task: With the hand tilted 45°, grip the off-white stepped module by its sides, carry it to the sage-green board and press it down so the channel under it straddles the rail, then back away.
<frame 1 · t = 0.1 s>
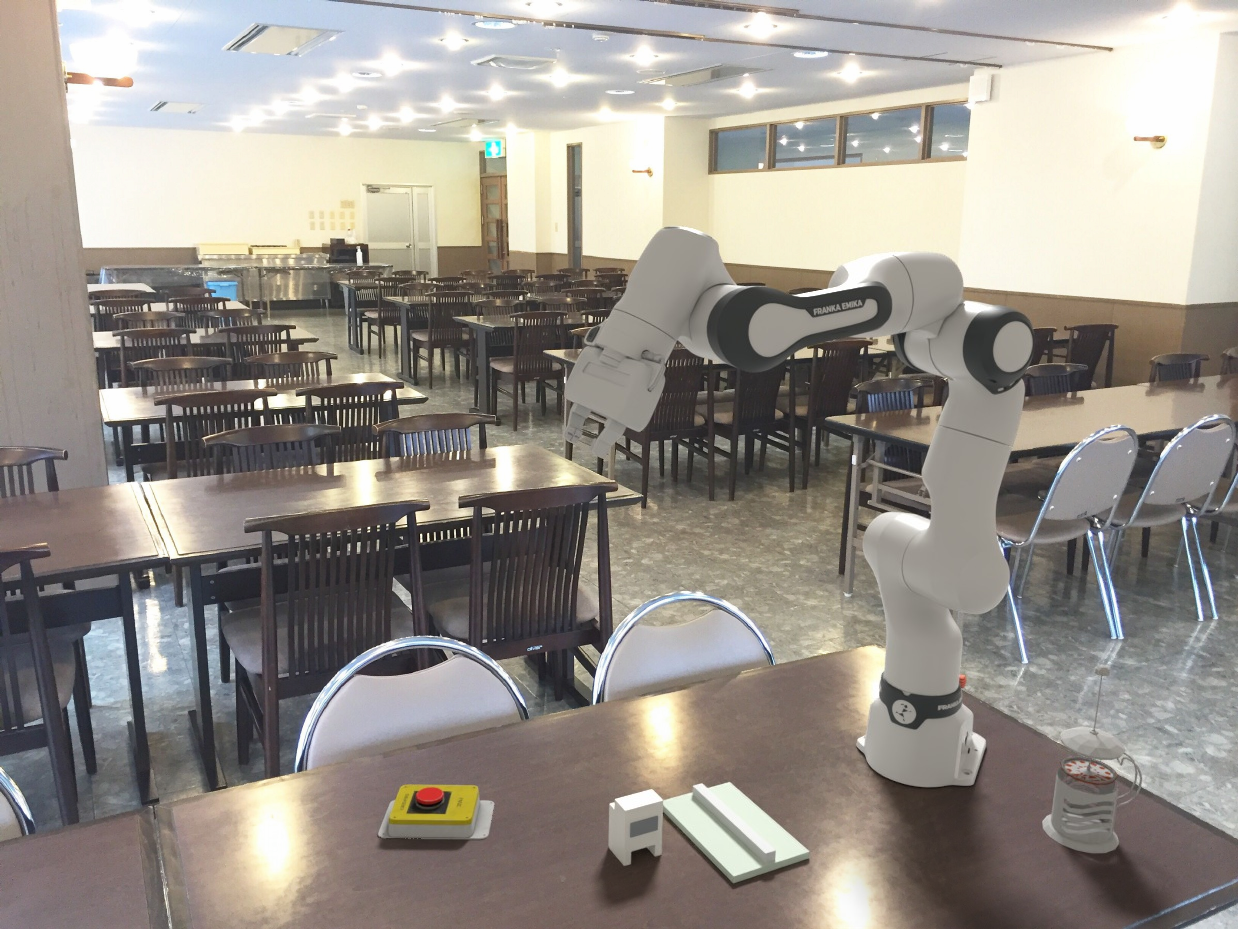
hand: (582, 447, 122), 54 cm above the table, tool tilted 30°, fingers open, 8 cm apart
french press: (1086, 834, 138), on the table
emergency button: (438, 823, 138), on the table
rail board: (731, 832, 136), on the table
module: (634, 851, 131), on the table
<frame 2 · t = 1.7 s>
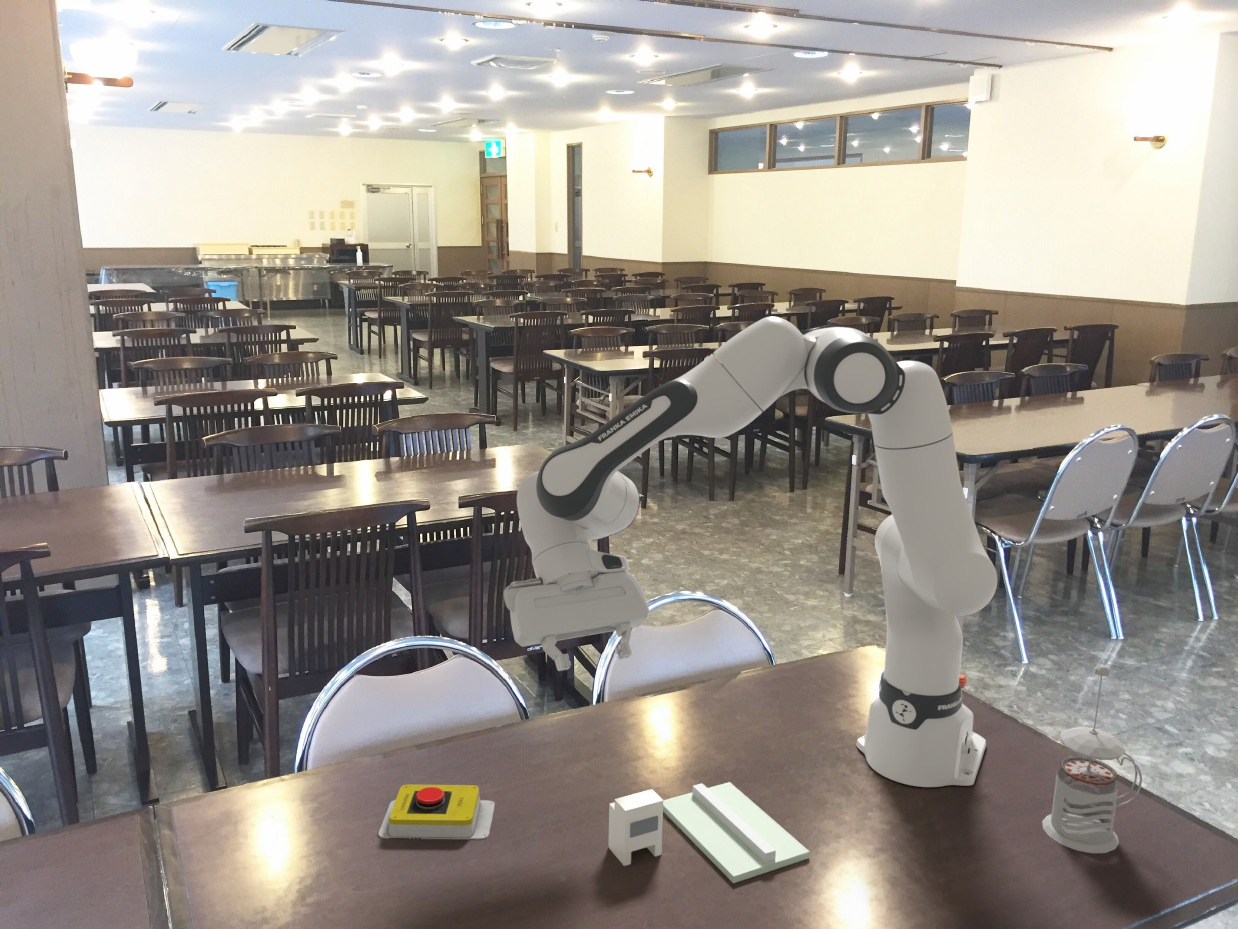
hand: (595, 663, 137), 22 cm above the table, tool tilted 45°, fingers open, 8 cm apart
nothing on the table moved.
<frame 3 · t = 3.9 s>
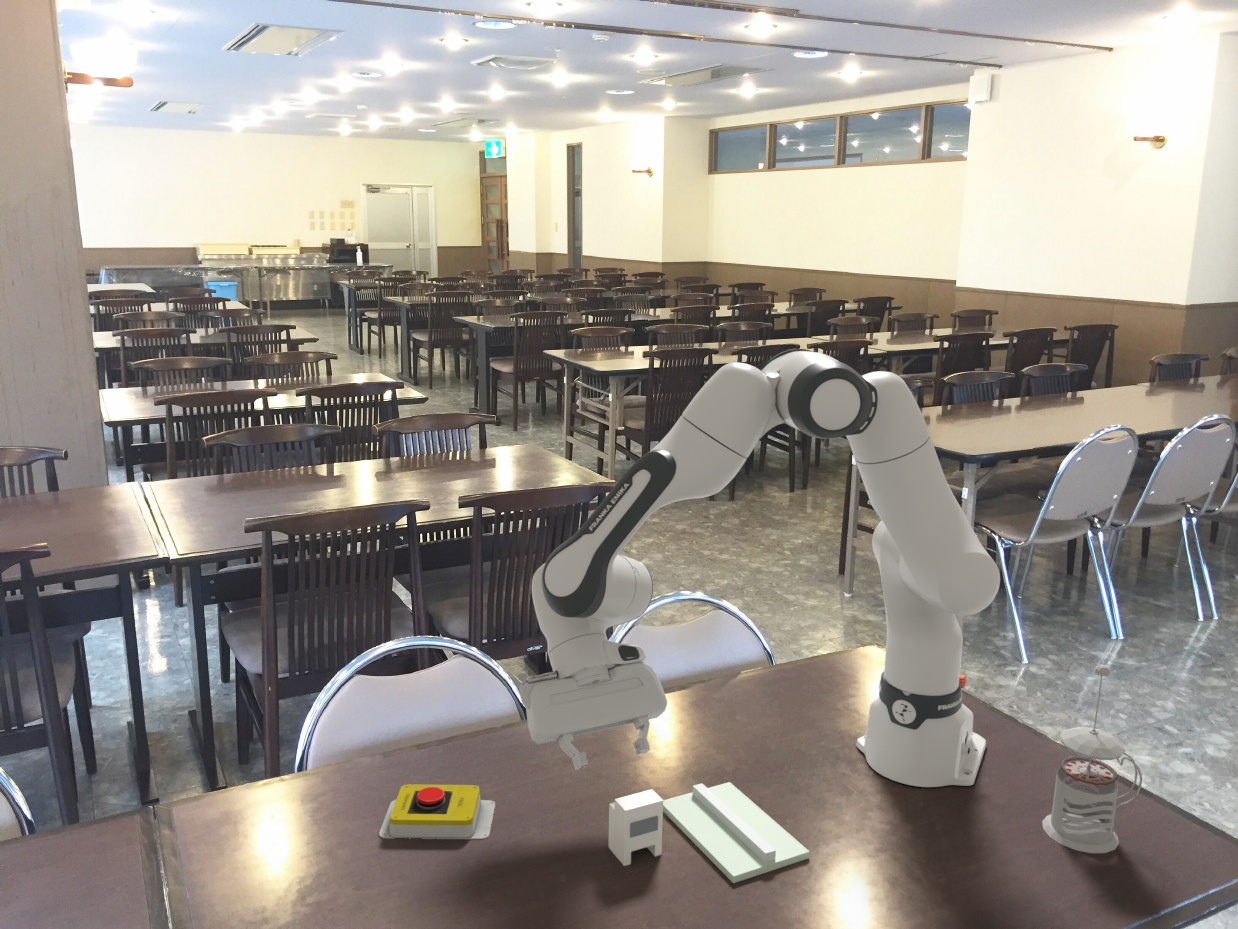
hand: (613, 760, 135), 10 cm above the table, tool tilted 45°, fingers open, 8 cm apart
nothing on the table moved.
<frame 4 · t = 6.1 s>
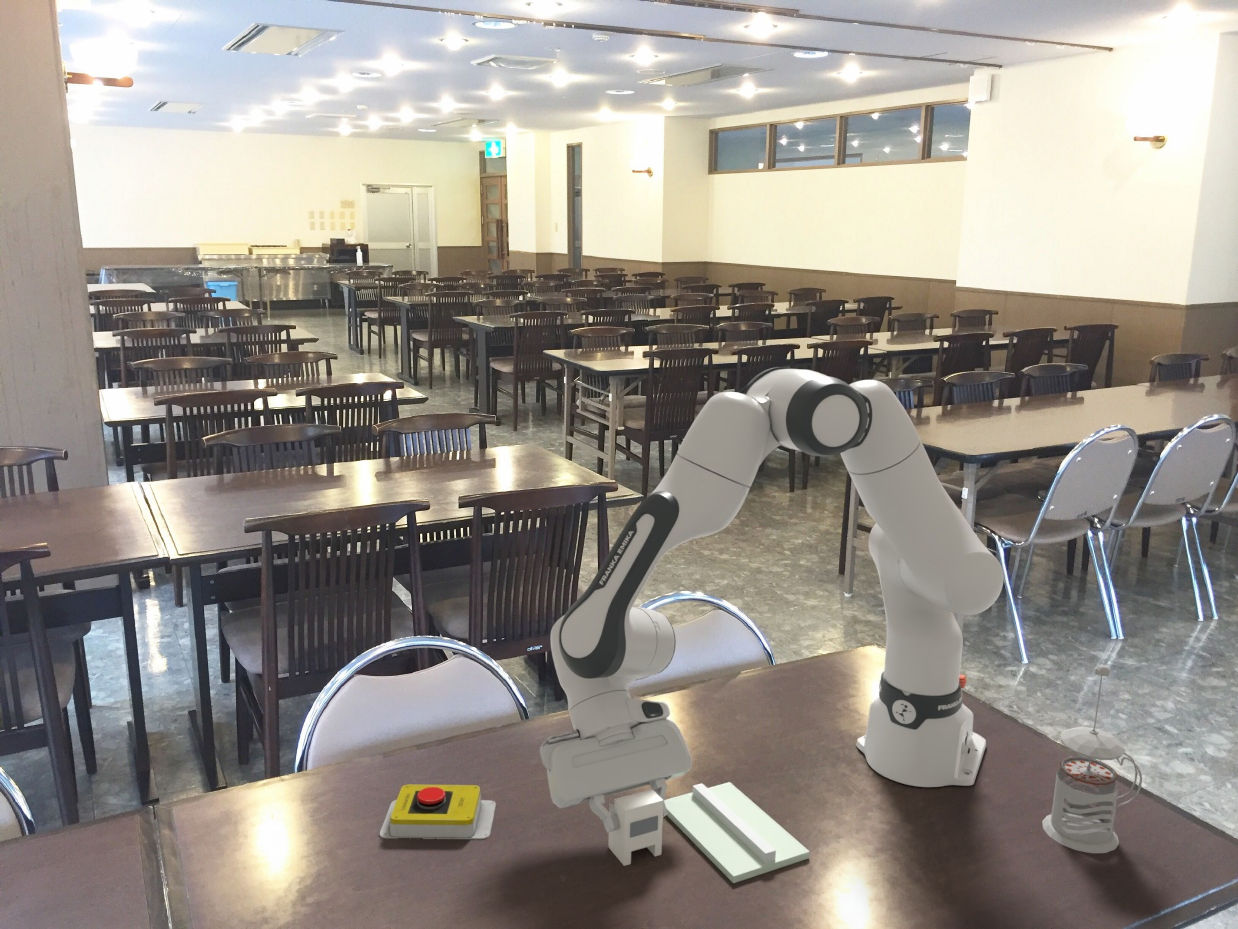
hand: (637, 823, 130), 4 cm above the table, tool tilted 45°, fingers closed on module, 6 cm apart
module: (634, 851, 131), on the table, touching gripper
everything else where it was.
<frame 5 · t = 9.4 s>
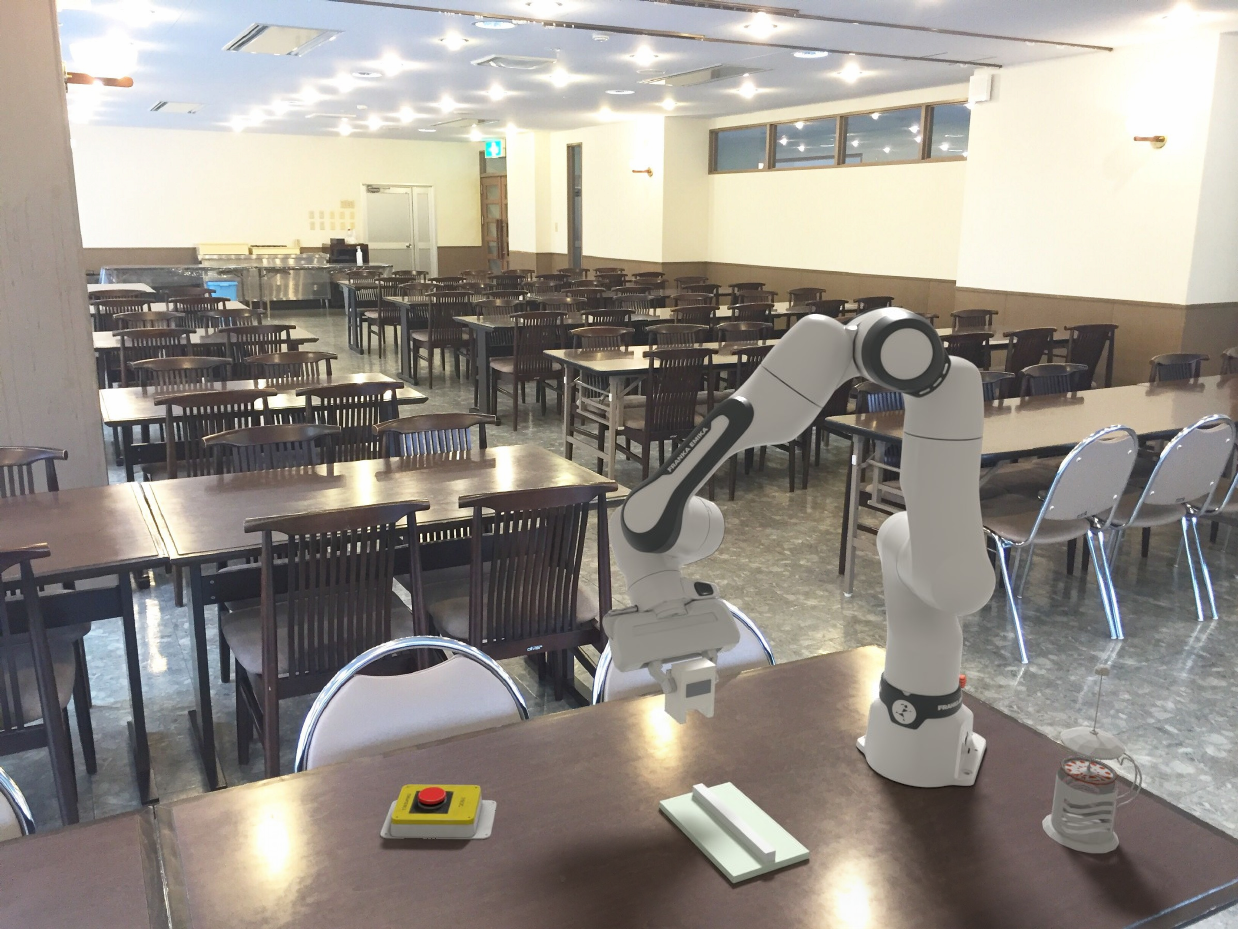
hand: (692, 687, 142), 17 cm above the table, tool tilted 45°, fingers closed on module, 6 cm apart
module: (688, 713, 144), point 12 cm above the table, touching gripper
everything else where it was.
when the fingers open (5 cm above the table, at t = 13.1 s): module stays where it is, resting on rail board.
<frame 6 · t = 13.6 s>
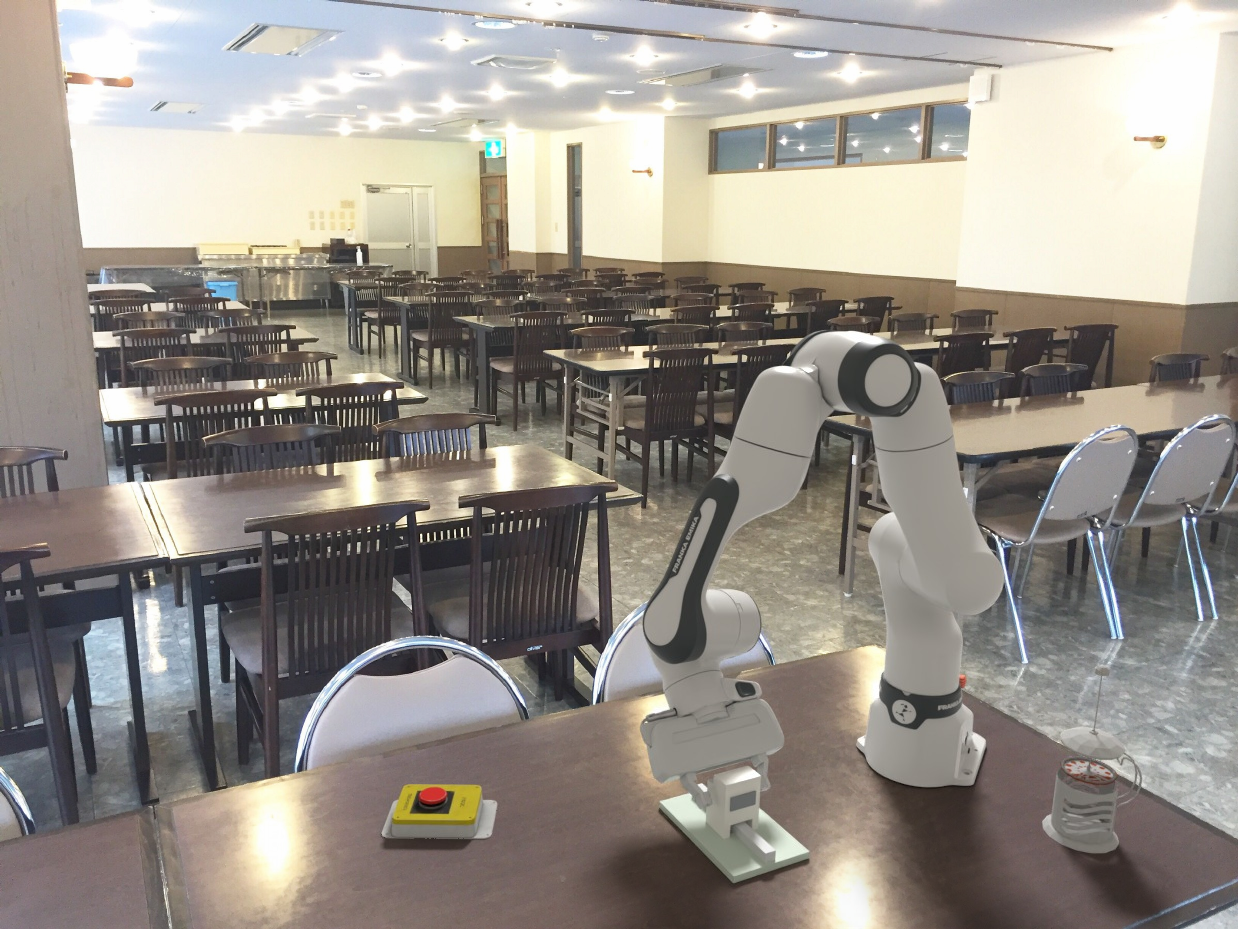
hand: (735, 798, 134), 5 cm above the table, tool tilted 45°, fingers open, 8 cm apart
module: (731, 825, 136), point 1 cm above the table, touching rail board
everything else where it was.
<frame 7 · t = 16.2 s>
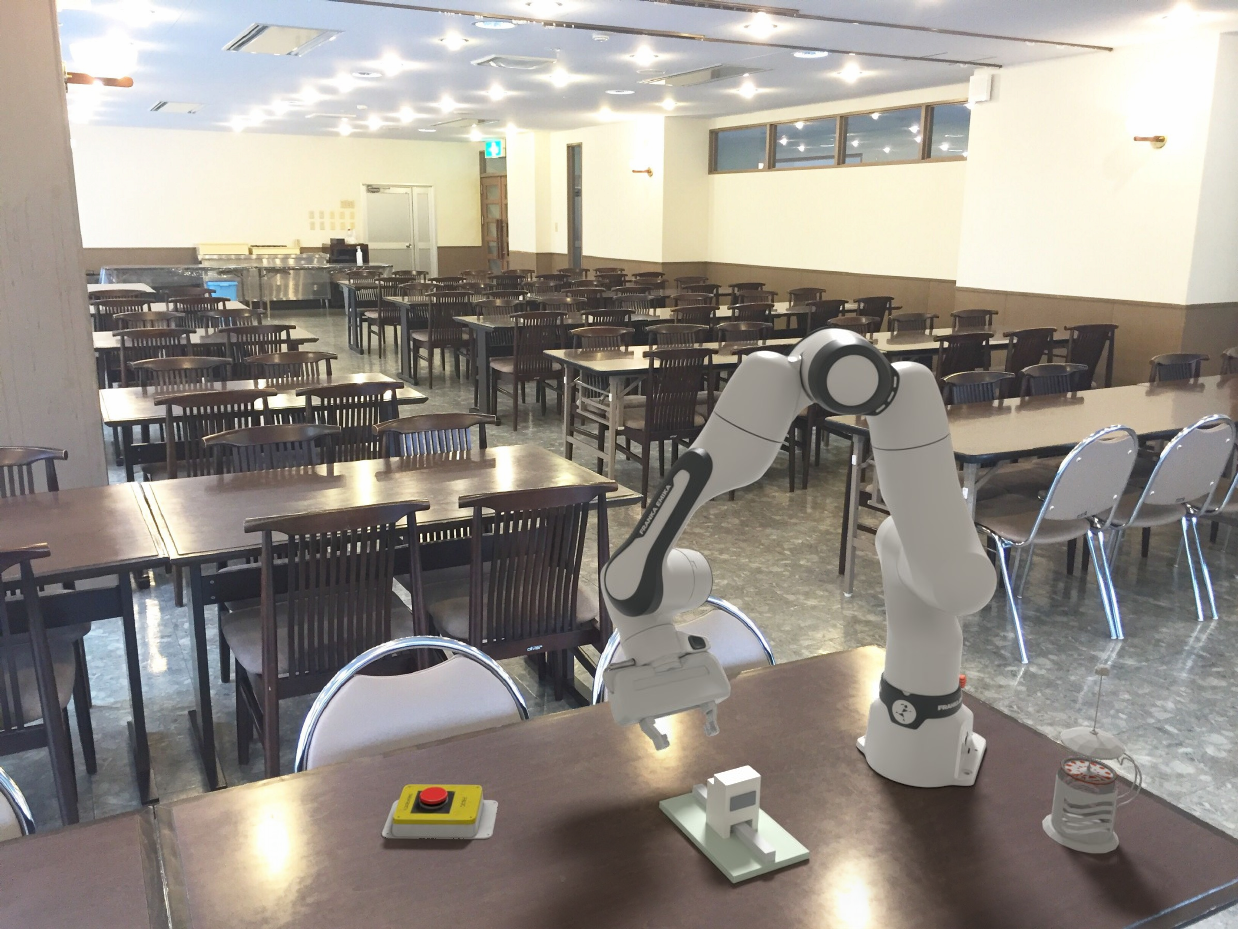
hand: (689, 741, 145), 8 cm above the table, tool tilted 45°, fingers open, 8 cm apart
nothing on the table moved.
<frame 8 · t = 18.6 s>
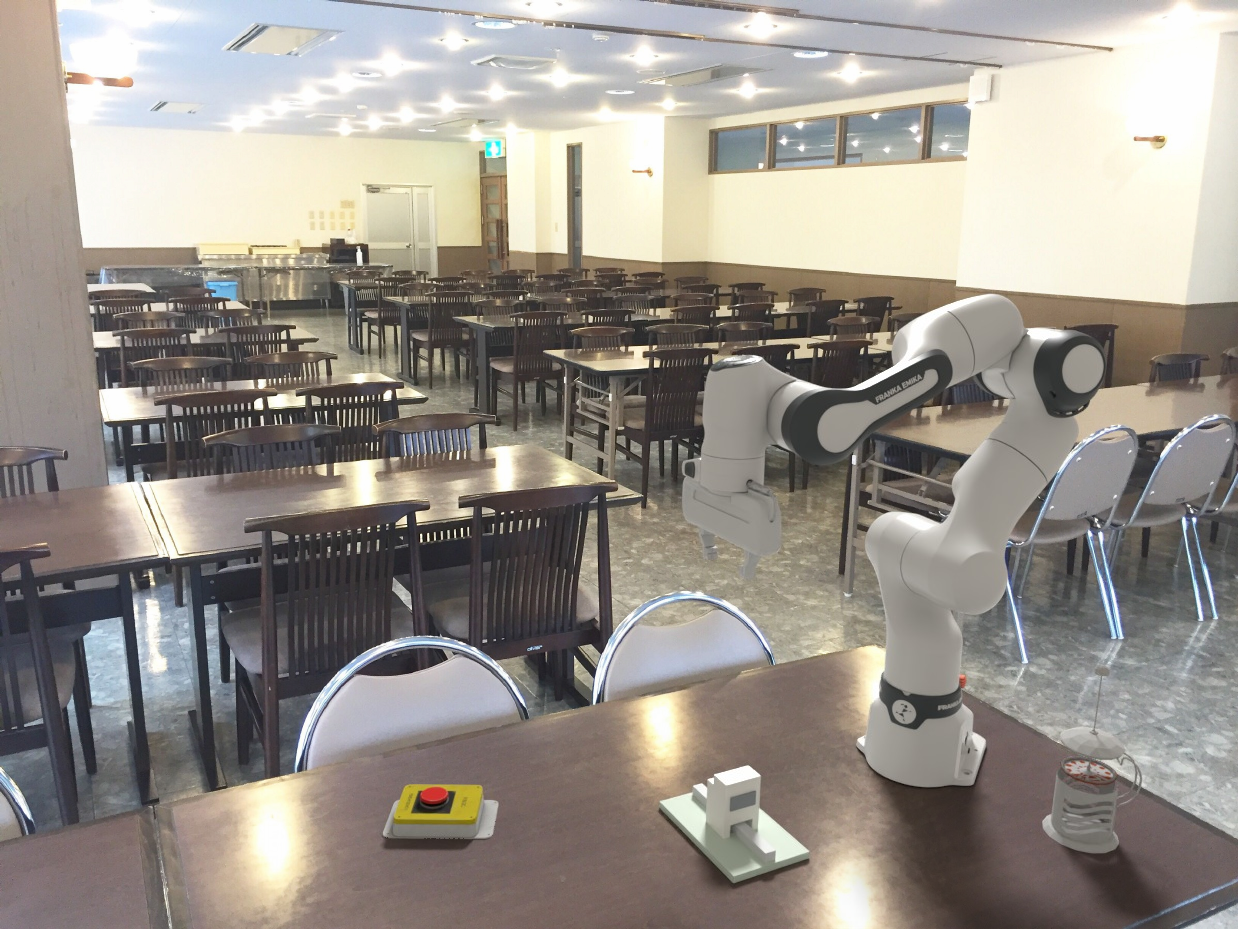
hand: (727, 568, 140), 34 cm above the table, tool pointing down, fingers open, 8 cm apart
nothing on the table moved.
at the end: module inside the target area on the rail board (0.1 cm from its centre), point 1.0 cm above the rail board's base; module tilted 0°; the gripper is holding nothing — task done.
